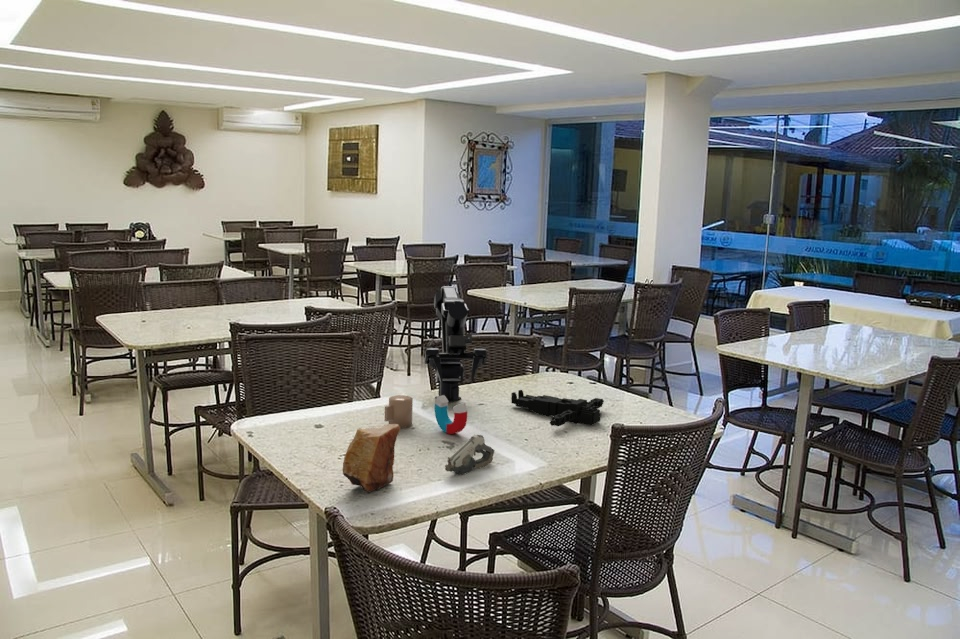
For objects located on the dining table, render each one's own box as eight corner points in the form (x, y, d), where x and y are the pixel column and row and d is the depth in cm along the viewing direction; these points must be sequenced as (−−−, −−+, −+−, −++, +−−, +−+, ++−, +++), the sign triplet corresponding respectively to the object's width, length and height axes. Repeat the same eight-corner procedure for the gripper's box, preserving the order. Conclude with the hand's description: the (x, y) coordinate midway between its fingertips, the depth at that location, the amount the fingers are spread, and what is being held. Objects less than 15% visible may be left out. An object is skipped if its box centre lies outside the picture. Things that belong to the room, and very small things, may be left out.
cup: (377, 425, 216) (378, 399, 215) (401, 419, 223) (401, 393, 221) (393, 431, 212) (393, 405, 210) (416, 424, 218) (417, 399, 217)
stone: (387, 474, 181) (387, 416, 178) (407, 486, 174) (408, 426, 171) (335, 488, 172) (335, 427, 169) (354, 501, 165) (355, 438, 162)
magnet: (433, 428, 216) (434, 395, 214) (440, 426, 218) (441, 394, 216) (459, 439, 207) (460, 405, 205) (466, 437, 209) (468, 403, 207)
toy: (541, 380, 253) (620, 394, 235) (541, 398, 254) (619, 413, 236) (488, 399, 228) (571, 416, 210) (488, 419, 229) (571, 438, 211)
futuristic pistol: (452, 491, 184) (440, 462, 180) (490, 454, 192) (479, 425, 188) (459, 494, 183) (447, 465, 178) (497, 457, 191) (486, 427, 186)
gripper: (426, 322, 217) (427, 370, 210) (488, 323, 220) (491, 370, 212) (424, 340, 227) (425, 386, 219) (483, 340, 229) (486, 386, 222)
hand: (456, 381), depth 218 cm, fingers open, 9 cm apart
